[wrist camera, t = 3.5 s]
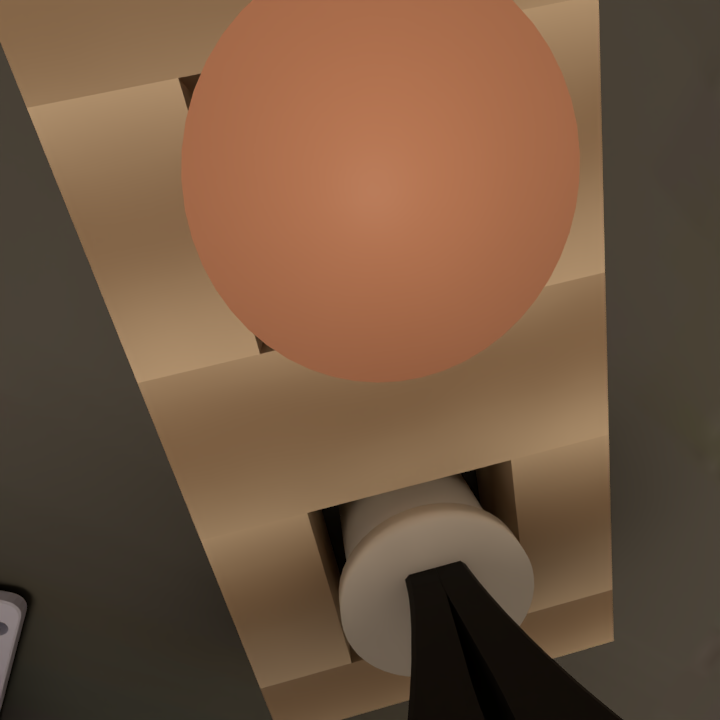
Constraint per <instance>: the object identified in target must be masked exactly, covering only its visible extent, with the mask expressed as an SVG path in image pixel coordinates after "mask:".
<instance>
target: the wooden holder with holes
mask: <svg viewBox="0 0 720 720" xmlns="http://www.w3.org/2000/svg"><path fill="white" fill-rule="evenodd" d="M251 1H252V0H0V42H1V45H2V47H3V50H4V52H5V55H6V57H7V59H8V62H9V64H10V67H11V69H12V72H13V74H14V77H15V79H16V82H17V84H18V87H19V89H20V92H21V94H22V97H23V99H24V102H25V104H26V107H27V109H28V112H29V114H30V117H31V119H32V122H33V124H34V127H35V129H36V132H37V134H38V137H39V139H40V142H41V144H42V147H43V149H44V152H45V154H46V156H47V159H48V161H49V164H50V166H51V169H52V171H53V174H54V176H55V179H56V181H57V184H58V186H59V189H60V191H61V194H62V196H63V199H64V201H65V204H66V206H67V209H68V211H69V214H70V216H71V219H72V221H73V224H74V226H75V229H76V231H77V234H78V236H79V239H80V241H81V244H82V246H83V249H84V251H85V253H86V256H87V258H88V261H89V263H90V266H91V268H92V271H93V273H94V276H95V278H96V281H97V283H98V286H99V288H100V291H101V293H102V296H103V298H104V301H105V303H106V306H107V308H108V311H109V313H110V316H111V318H112V321H113V323H114V326H115V328H116V331H117V333H118V336H119V338H120V341H121V343H122V346H123V348H124V350H125V353H126V355H127V358H128V360H129V363H130V365H131V368H132V370H133V373H134V375H135V378H136V380H137V383H138V385H139V388H140V390H141V393H142V395H143V398H144V400H145V403H146V405H147V408H148V410H149V413H150V415H151V418H152V420H153V423H154V425H155V428H156V430H157V433H158V435H159V438H160V440H161V443H162V445H163V447H164V450H165V452H166V455H167V457H168V460H169V462H170V465H171V467H172V470H173V472H174V475H175V477H176V480H177V482H178V485H179V487H180V490H181V492H182V495H183V497H184V500H185V502H186V505H187V507H188V510H189V512H190V515H191V517H192V520H193V522H194V525H195V527H196V530H197V532H198V535H199V537H200V540H201V542H202V544H203V547H204V549H205V552H206V554H207V557H208V559H209V562H210V564H211V567H212V569H213V572H214V574H215V577H216V579H217V582H218V584H219V587H220V589H221V592H222V594H223V597H224V599H225V602H226V604H227V607H228V609H229V612H230V614H231V617H232V619H233V622H234V624H235V627H236V629H237V632H238V634H239V637H240V639H241V641H242V644H243V646H244V649H245V651H246V654H247V656H248V659H249V661H250V664H251V666H252V669H253V671H254V674H255V676H256V679H257V681H258V684H259V686H260V689H261V691H262V694H263V696H264V699H265V701H266V704H267V706H268V709H269V711H270V714H271V716H272V719H273V720H342V719H345V718H348V717H352V716H355V715H359V714H362V713H366V712H369V711H373V710H376V709H380V708H383V707H387V706H390V705H393V704H397V703H400V702H404V701H407V700H409V695H410V679H411V677H408V676H401V675H395V674H392V673H389V672H385V671H383V670H381V669H378V668H376V667H374V666H373V665H371V664H369V663H368V662H366V661H365V660H364V659H363V658H361V657H360V656H359V655H358V654H357V653H356V652H355V651H354V649H353V648H352V647H351V645H350V644H349V642H348V640H347V638H346V636H345V633H344V631H343V626H342V621H341V613H340V604H339V582H340V577H341V576H340V572H339V569H338V565H337V562H336V558H335V555H334V551H333V547H332V544H331V540H330V537H329V533H328V530H327V526H326V523H325V519H324V516H323V512H322V509H324V508H328V507H332V506H336V505H339V504H343V503H347V502H351V501H355V500H359V499H363V498H366V497H370V496H374V495H378V494H382V493H386V492H389V491H393V490H397V489H401V488H405V487H409V486H413V485H416V484H420V483H424V482H428V481H432V480H436V479H440V478H443V477H447V476H451V475H455V474H459V473H463V472H467V471H470V470H474V469H475V471H476V478H477V485H478V493H479V500H480V505H481V507H482V508H483V510H485V511H487V512H489V513H491V514H492V515H494V516H496V517H497V518H499V519H500V520H501V521H502V522H503V523H504V524H506V526H507V527H508V528H509V529H510V530H511V532H512V533H513V534H514V536H515V537H516V539H517V540H518V542H519V543H520V545H521V546H522V548H523V549H524V551H525V553H526V554H527V556H528V558H529V560H530V563H531V566H532V569H533V574H534V592H533V598H532V602H531V605H530V608H529V610H528V612H527V615H526V617H525V618H524V620H523V622H522V623H521V625H520V627H521V628H522V629H523V631H524V632H525V633H526V634H527V635H528V636H529V637H530V638H531V639H532V640H533V641H534V642H535V643H536V644H537V645H538V646H539V647H540V648H541V649H543V650H544V651H545V652H546V653H547V654H548V655H549V656H550V657H551V658H552V659H553V658H556V657H560V656H563V655H567V654H570V653H574V652H577V651H581V650H584V649H587V648H591V647H594V646H598V645H601V644H605V643H608V642H612V641H614V637H613V595H612V552H611V509H610V466H609V423H608V380H607V338H606V295H605V252H604V209H603V166H602V123H601V81H600V38H599V0H513V1H514V2H515V3H516V5H517V6H518V7H519V8H520V9H521V10H522V11H523V12H524V13H525V15H526V16H527V17H528V18H529V19H530V20H531V21H532V22H533V24H534V25H535V27H536V28H537V30H538V31H539V32H540V34H541V35H542V37H543V38H544V40H545V41H546V43H547V44H548V46H549V47H550V49H551V51H552V53H553V55H554V57H555V59H556V61H557V63H558V65H559V67H560V69H561V71H562V74H563V77H564V80H565V82H566V85H567V88H568V91H569V94H570V97H571V100H572V105H573V109H574V114H575V118H576V123H577V129H578V139H579V149H580V175H579V188H578V195H577V203H576V209H575V213H574V217H573V221H572V225H571V229H570V233H569V235H568V238H567V241H566V244H565V246H564V249H563V252H562V254H561V257H560V259H559V261H558V263H557V265H556V267H555V269H554V271H553V273H552V275H551V277H550V279H549V280H548V282H547V284H546V285H545V287H544V288H543V290H542V291H541V293H540V294H539V296H538V297H537V299H536V300H535V302H534V303H533V304H532V305H531V306H530V308H529V309H528V310H527V311H526V312H525V314H524V315H523V316H522V317H521V319H519V320H518V321H517V322H516V323H515V324H514V325H513V326H512V327H511V328H510V329H509V330H508V331H507V332H506V333H505V334H504V335H503V336H502V337H500V338H499V339H498V340H496V341H495V342H494V343H492V344H491V345H490V346H489V347H487V348H486V349H485V350H483V351H481V352H480V353H478V354H476V355H475V356H473V357H471V358H470V359H468V360H466V361H464V362H462V363H460V364H458V365H455V366H453V367H451V368H449V369H446V370H444V371H441V372H438V373H435V374H431V375H428V376H425V377H421V378H416V379H410V380H405V381H397V382H380V383H376V382H361V381H352V380H347V379H342V378H336V377H332V376H329V375H326V374H323V373H320V372H316V371H313V370H310V369H308V368H306V367H304V366H302V365H300V364H298V363H296V362H294V361H291V360H289V359H287V358H286V357H284V356H283V355H281V354H280V353H278V352H277V351H275V350H274V349H272V348H270V347H269V346H267V345H266V344H265V343H264V342H263V341H261V340H260V339H259V338H258V337H257V336H255V335H254V334H253V333H252V332H251V331H250V330H248V329H247V328H246V326H245V325H244V324H243V323H242V322H241V321H240V320H239V319H238V318H237V317H236V316H235V315H234V313H233V312H232V311H231V310H230V309H229V307H228V306H227V305H226V303H225V302H224V300H223V299H222V298H221V296H220V295H219V293H218V292H217V291H216V289H215V287H214V286H213V284H212V282H211V280H210V278H209V276H208V274H207V273H206V271H205V269H204V267H203V265H202V263H201V260H200V258H199V255H198V253H197V250H196V247H195V245H194V242H193V240H192V236H191V232H190V228H189V225H188V221H187V217H186V213H185V207H184V198H183V190H182V182H181V160H182V144H183V136H184V129H185V122H186V117H187V114H188V110H189V106H190V103H191V99H192V95H193V92H194V89H195V86H196V84H197V82H198V79H199V77H200V75H201V72H202V70H203V67H204V65H205V63H206V61H207V59H208V57H209V56H210V54H211V52H212V51H213V49H214V47H215V46H216V44H217V42H218V41H219V39H220V37H221V36H222V34H223V33H224V31H225V30H226V29H227V28H228V27H229V25H230V24H231V23H232V22H233V20H234V19H235V18H236V17H237V16H238V14H239V13H240V12H241V11H242V9H244V8H245V7H246V6H247V5H248V4H249V3H250V2H251Z"/></svg>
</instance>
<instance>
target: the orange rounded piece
mask: <svg viewBox="0 0 720 720" xmlns="http://www.w3.org/2000/svg"><path fill="white" fill-rule="evenodd" d="M579 175H580V149H579V139H578V129H577V123H576V118H575V114H574V109H573V105H572V100H571V97H570V94H569V91H568V88H567V85H566V82H565V80H564V77H563V74H562V71H561V69H560V67H559V65H558V63H557V61H556V59H555V57H554V55H553V53H552V51H551V49H550V47H549V46H548V44H547V43H546V41H545V40H544V38H543V37H542V35H541V34H540V32H539V31H538V30H537V28H536V27H535V25H534V24H533V22H532V21H531V20H530V19H529V18H528V17H527V16H526V15H525V13H524V12H523V11H522V10H521V9H520V8H519V7H518V6H517V5H516V3H515V2H514V1H513V0H252V1H251V2H250V3H249V4H248V5H247V6H246V7H245V8H244V9H242V11H241V12H240V13H239V14H238V16H237V17H236V18H235V19H234V20H233V22H232V23H231V24H230V25H229V27H228V28H227V29H226V30H225V31H224V33H223V34H222V36H221V37H220V39H219V41H218V42H217V44H216V46H215V47H214V49H213V51H212V52H211V54H210V56H209V57H208V59H207V61H206V63H205V65H204V67H203V70H202V72H201V75H200V77H199V79H198V82H197V84H196V86H195V89H194V92H193V95H192V99H191V103H190V106H189V110H188V114H187V117H186V122H185V129H184V136H183V144H182V160H181V182H182V190H183V198H184V207H185V213H186V217H187V221H188V225H189V228H190V232H191V236H192V240H193V242H194V245H195V247H196V250H197V253H198V255H199V258H200V260H201V263H202V265H203V267H204V269H205V271H206V273H207V274H208V276H209V278H210V280H211V282H212V284H213V286H214V287H215V289H216V291H217V292H218V293H219V295H220V296H221V298H222V299H223V300H224V302H225V303H226V305H227V306H228V307H229V309H230V310H231V311H232V312H233V313H234V315H235V316H236V317H237V318H238V319H239V320H240V321H241V322H242V323H243V324H244V325H245V326H246V328H247V329H248V330H250V331H251V332H252V333H253V334H254V335H255V336H257V337H258V338H259V339H260V340H261V341H263V342H264V343H265V344H266V345H267V346H269V347H270V348H272V349H274V350H275V351H277V352H278V353H280V354H281V355H283V356H284V357H286V358H287V359H289V360H291V361H294V362H296V363H298V364H300V365H302V366H304V367H306V368H308V369H310V370H313V371H316V372H320V373H323V374H326V375H329V376H332V377H336V378H342V379H347V380H352V381H361V382H376V383H380V382H397V381H405V380H410V379H416V378H421V377H425V376H428V375H431V374H435V373H438V372H441V371H444V370H446V369H449V368H451V367H453V366H455V365H458V364H460V363H462V362H464V361H466V360H468V359H470V358H471V357H473V356H475V355H476V354H478V353H480V352H481V351H483V350H485V349H486V348H487V347H489V346H490V345H491V344H492V343H494V342H495V341H496V340H498V339H499V338H500V337H502V336H503V335H504V334H505V333H506V332H507V331H508V330H509V329H510V328H511V327H512V326H513V325H514V324H515V323H516V322H517V321H518V320H519V319H521V317H522V316H523V315H524V314H525V312H526V311H527V310H528V309H529V308H530V306H531V305H532V304H533V303H534V302H535V300H536V299H537V297H538V296H539V294H540V293H541V291H542V290H543V288H544V287H545V285H546V284H547V282H548V280H549V279H550V277H551V275H552V273H553V271H554V269H555V267H556V265H557V263H558V261H559V259H560V257H561V254H562V252H563V249H564V246H565V244H566V241H567V238H568V235H569V233H570V229H571V225H572V221H573V217H574V213H575V209H576V203H577V195H578V188H579Z"/></svg>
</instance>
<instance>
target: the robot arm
mask: <svg viewBox="0 0 720 720" xmlns="http://www.w3.org/2000/svg"><path fill="white" fill-rule="evenodd" d="M405 582H406V587H407V591H408V596H409V604H410V616H411V679H410V695H409V711H408V720H623V719H622V718H620V717H619V716H618V715H616V714H615V713H614V712H613V711H612V710H610V709H609V708H608V707H607V706H606V705H604V704H603V703H602V702H601V701H599V700H598V699H597V698H596V697H595V696H593V695H592V694H591V693H590V692H589V691H588V690H586V689H585V688H584V687H583V686H582V685H581V684H580V683H578V682H577V681H576V680H575V679H574V678H573V677H572V676H571V675H569V674H568V673H567V672H566V671H565V670H564V669H563V668H562V667H561V666H560V665H558V664H557V663H556V662H555V661H554V660H553V659H552V658H551V657H550V656H549V655H548V654H547V653H546V652H545V651H544V650H543V649H541V648H540V647H539V646H538V645H537V644H536V643H535V642H534V641H533V640H532V639H531V638H530V637H529V636H528V635H527V634H526V633H525V632H524V631H523V629H522V628H521V627H520V626H519V625H518V624H517V623H516V622H515V621H514V620H513V619H512V618H511V617H510V616H509V615H508V614H507V613H506V612H505V611H504V610H503V609H502V607H501V606H500V605H499V604H498V603H497V602H496V601H495V600H494V598H493V597H492V596H491V595H490V594H489V593H488V592H487V590H486V589H485V588H484V587H483V586H482V584H481V583H480V582H479V581H478V580H477V578H476V577H475V576H474V575H473V573H472V572H471V571H470V569H469V568H468V567H467V565H466V564H465V563H463V562H462V561H457V562H454V563H450V564H446V565H443V566H439V567H436V568H432V569H428V570H425V571H421V572H417V573H413V574H410V575H408V577H407V578H406V579H405ZM26 611H27V603H26V602H25V600H24V598H22V597H21V596H20V595H18V594H15V593H12V592H6V591H1V590H0V710H1V707H2V703H3V699H4V695H5V691H6V687H7V684H8V680H9V676H10V672H11V668H12V664H13V661H14V657H15V653H16V649H17V645H18V641H19V637H20V634H21V630H22V626H23V622H24V618H25V614H26ZM1 622H2V623H1ZM4 623H5V624H4Z"/></svg>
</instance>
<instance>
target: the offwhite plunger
mask: <svg viewBox="0 0 720 720" xmlns="http://www.w3.org/2000/svg"><path fill="white" fill-rule="evenodd" d="M339 514H340V521H341V528H342V535H343V542H344V549H345V556H346V563H345V565H344V567H343V570H342V574H341V577H340V582H339V604H340V613H341V621H342V626H343V631H344V633H345V636H346V638H347V640H348V642H349V644H350V645H351V647H352V648H353V649H354V651H355V652H356V653H357V654H358V655H359V656H360V657H361V658H363V659H364V660H365V661H366V662H368V663H369V664H371V665H373V666H374V667H376V668H378V669H381V670H383V671H385V672H389V673H392V674H395V675H401V676H408V677H411V616H410V604H409V596H408V591H407V587H406V582H405V579H406V578H407V577H408V575H410V574H413V573H417V572H421V571H425V570H428V569H432V568H436V567H439V566H443V565H446V564H450V563H454V562H457V561H462V562H463V563H465V564H466V565H467V567H468V568H469V569H470V571H471V572H472V573H473V575H474V576H475V577H476V578H477V580H478V581H479V582H480V583H481V584H482V586H483V587H484V588H485V589H486V590H487V592H488V593H489V594H490V595H491V596H492V597H493V598H494V600H495V601H496V602H497V603H498V604H499V605H500V606H501V607H502V609H503V610H504V611H505V612H506V613H507V614H508V615H509V616H510V617H511V618H512V619H513V620H514V621H515V622H516V623H517V624H518V625H519V626H520V625H521V623H522V622H523V620H524V618H525V617H526V615H527V612H528V610H529V608H530V605H531V602H532V598H533V592H534V574H533V569H532V566H531V563H530V560H529V558H528V556H527V554H526V553H525V551H524V549H523V548H522V546H521V545H520V543H519V542H518V540H517V539H516V537H515V536H514V534H513V533H512V532H511V530H510V529H509V528H508V527H507V526H506V524H504V523H503V522H502V521H501V520H500V519H499V518H497V517H496V516H494V515H492V514H491V513H489V512H487V511H485V510H483V508H482V507H481V505H480V504H479V502H478V500H477V499H476V497H475V496H474V494H473V492H472V491H471V489H470V488H469V486H468V484H467V483H466V481H465V480H464V478H463V476H462V475H461V473H459V474H455V475H451V476H447V477H443V478H440V479H436V480H432V481H428V482H424V483H420V484H416V485H413V486H409V487H405V488H401V489H397V490H393V491H389V492H386V493H382V494H378V495H374V496H370V497H366V498H363V499H359V500H355V501H351V502H347V503H343V504H339Z"/></svg>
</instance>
